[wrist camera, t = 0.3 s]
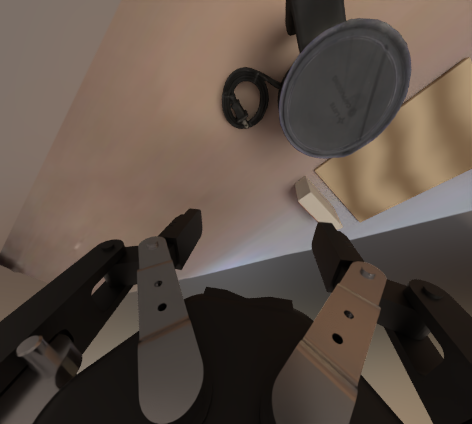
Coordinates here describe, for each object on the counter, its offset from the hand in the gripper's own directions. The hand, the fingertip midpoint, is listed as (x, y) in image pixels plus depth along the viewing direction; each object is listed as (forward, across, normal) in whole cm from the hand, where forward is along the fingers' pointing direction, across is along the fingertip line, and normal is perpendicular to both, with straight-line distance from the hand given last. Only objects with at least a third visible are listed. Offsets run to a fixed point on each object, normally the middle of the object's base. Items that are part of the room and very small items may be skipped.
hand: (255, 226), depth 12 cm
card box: (+24, -11, +6) cm, 27 cm away
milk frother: (+22, -2, -10) cm, 24 cm away
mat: (+22, -22, -2) cm, 31 cm away
